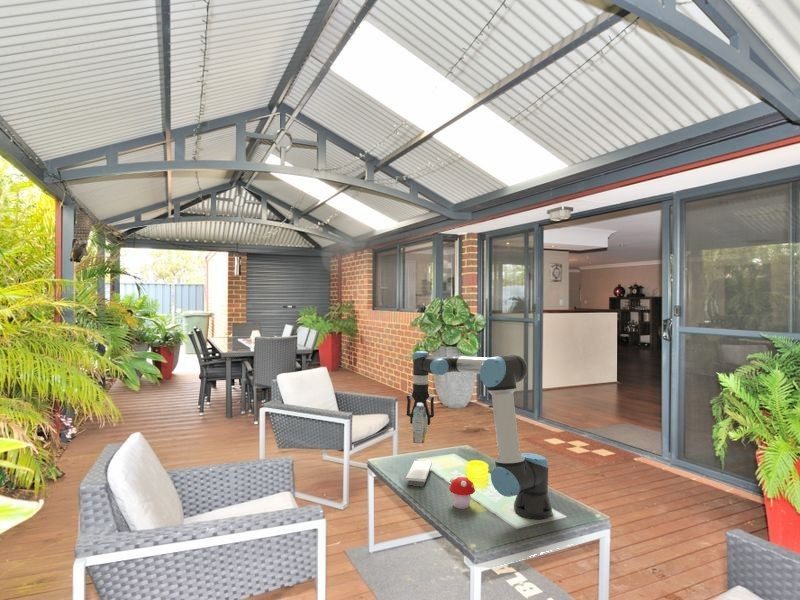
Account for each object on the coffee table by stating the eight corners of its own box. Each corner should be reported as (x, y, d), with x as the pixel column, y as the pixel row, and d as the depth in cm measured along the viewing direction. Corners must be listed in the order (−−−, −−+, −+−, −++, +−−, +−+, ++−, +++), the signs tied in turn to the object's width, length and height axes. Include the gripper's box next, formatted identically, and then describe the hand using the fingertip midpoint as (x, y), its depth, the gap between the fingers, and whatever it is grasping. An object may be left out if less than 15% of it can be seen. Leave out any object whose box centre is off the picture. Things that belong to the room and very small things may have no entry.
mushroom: (450, 499, 211) (450, 471, 211) (475, 501, 209) (475, 473, 209) (447, 509, 200) (448, 480, 200) (474, 512, 198) (475, 482, 198)
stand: (424, 487, 223) (425, 479, 223) (405, 486, 224) (405, 477, 224) (431, 469, 246) (431, 461, 246) (414, 468, 248) (414, 460, 248)
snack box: (415, 430, 246) (416, 401, 246) (426, 431, 245) (427, 401, 245) (412, 443, 225) (413, 410, 225) (424, 443, 224) (425, 411, 224)
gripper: (400, 383, 233) (399, 431, 233) (439, 385, 229) (438, 434, 230) (403, 381, 241) (402, 427, 241) (440, 382, 237) (440, 430, 237)
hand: (420, 430), depth 235 cm, fingers closed on snack box, 6 cm apart
